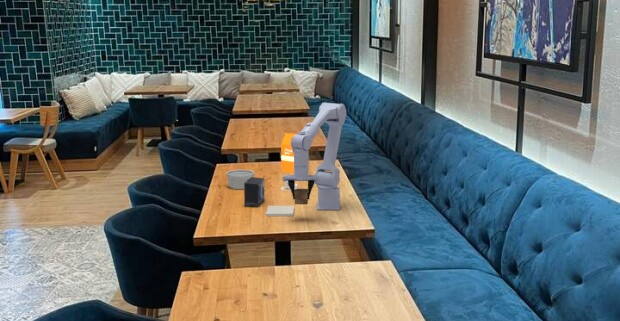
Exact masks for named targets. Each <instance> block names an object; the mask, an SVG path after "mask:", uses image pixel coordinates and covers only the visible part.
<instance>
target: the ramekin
mask: <svg viewBox="0 0 620 321" xmlns="http://www.w3.org/2000/svg"><path fill="white" fill-rule="evenodd" d="M226 177H227V178H226V179H227V184H228V187H229V188H230V189H232V190H244V183H245V182H246V181H247V180H249V179H250V178H251V177H255V171H253V170H250V169H233V170H229V171H227V172H226Z"/></svg>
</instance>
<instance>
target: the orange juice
mask: <svg viewBox="0 0 620 321" xmlns="http://www.w3.org/2000/svg"><path fill="white" fill-rule="evenodd" d="M296 134H297V133H291V132H290V133H289V132H285V134H284V137H283V139H282V142H281V144H280V145H281V146H280V147H281V148H280V149H281V150H280V152H281V160H280V161H281V171H282V172H285V171H286V172H285V173H293V174H294V153H293V152H292V147H291V144H290V142H291V139H292V137H293V136H294V135H296Z"/></svg>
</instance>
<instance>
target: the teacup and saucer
mask: <svg viewBox="0 0 620 321" xmlns="http://www.w3.org/2000/svg"><path fill="white" fill-rule="evenodd" d="M283 185H284V186H282V187H280V190H281V191H285V192H291V189H290V187H289V185H288V181H285V182H284V183H283ZM298 186H299V185H298V184H297V183H295V189H298ZM285 188H286V189H285Z"/></svg>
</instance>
